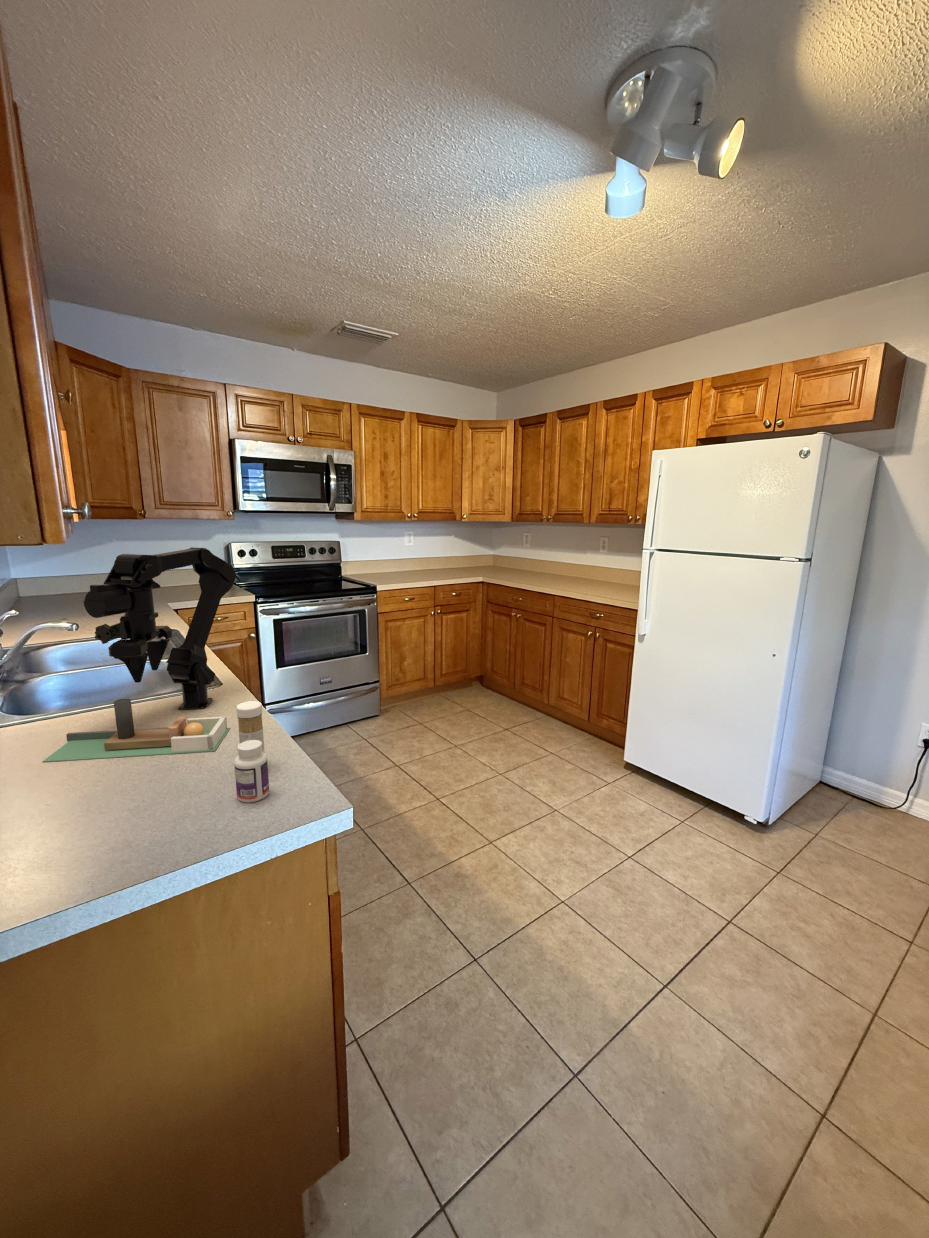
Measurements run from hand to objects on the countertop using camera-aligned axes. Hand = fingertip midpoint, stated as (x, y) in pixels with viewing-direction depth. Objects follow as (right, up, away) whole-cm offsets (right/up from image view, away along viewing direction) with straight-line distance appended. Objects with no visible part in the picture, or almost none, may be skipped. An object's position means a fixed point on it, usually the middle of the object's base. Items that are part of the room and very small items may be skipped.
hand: (146, 676), depth 116 cm
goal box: (+16, -14, -5) cm, 21 cm away
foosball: (+14, -12, -6) cm, 19 cm away
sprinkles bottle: (+32, -17, -17) cm, 40 cm away
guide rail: (-1, -13, -5) cm, 14 cm away
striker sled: (+5, -14, -8) cm, 17 cm away
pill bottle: (+36, -19, -26) cm, 48 cm away
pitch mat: (+4, -14, -8) cm, 16 cm away
